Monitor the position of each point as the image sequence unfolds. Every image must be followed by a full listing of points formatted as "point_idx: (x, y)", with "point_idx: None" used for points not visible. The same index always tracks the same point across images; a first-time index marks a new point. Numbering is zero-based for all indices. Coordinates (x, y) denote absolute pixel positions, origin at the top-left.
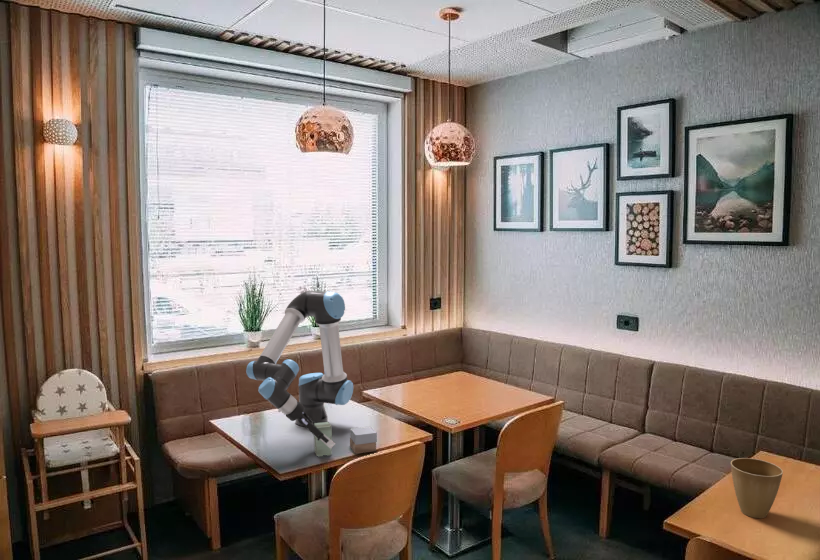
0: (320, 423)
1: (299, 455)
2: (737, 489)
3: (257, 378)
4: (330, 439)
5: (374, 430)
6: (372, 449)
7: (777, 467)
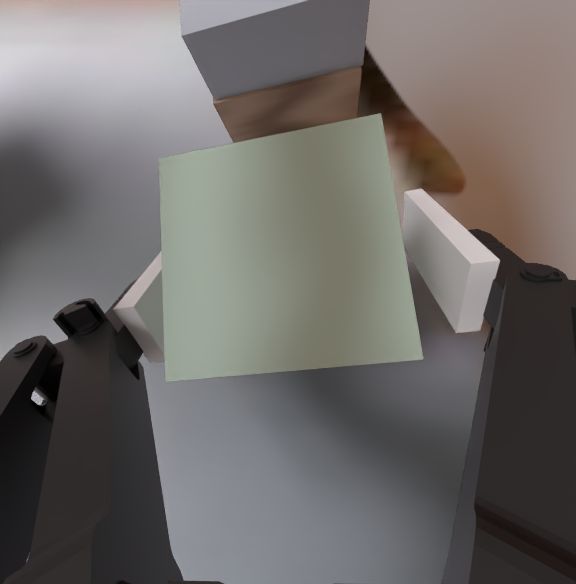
0: (196, 279)
1: (320, 460)
2: None
3: None
4: (436, 211)
5: None
6: None
7: None
